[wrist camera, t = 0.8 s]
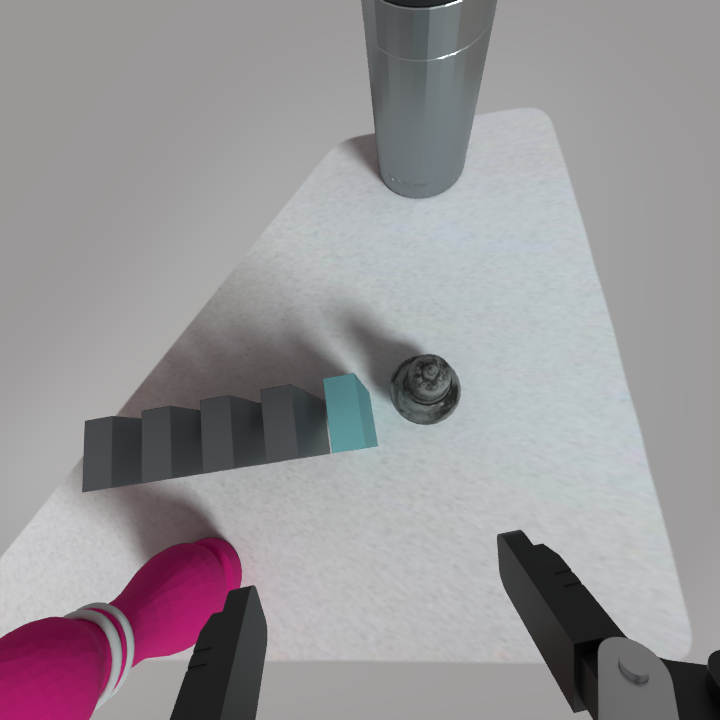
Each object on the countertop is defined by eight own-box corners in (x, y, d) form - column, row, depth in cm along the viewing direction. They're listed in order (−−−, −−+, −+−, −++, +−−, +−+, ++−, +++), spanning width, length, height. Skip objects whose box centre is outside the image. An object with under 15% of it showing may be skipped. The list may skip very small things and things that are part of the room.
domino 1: (192, 423, 36) (112, 416, 26) (194, 475, 34) (111, 487, 25) (172, 426, 36) (84, 420, 26) (173, 478, 35) (82, 492, 25)
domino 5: (369, 392, 34) (354, 373, 24) (377, 446, 33) (365, 447, 23) (346, 396, 34) (322, 378, 25) (354, 449, 33) (332, 452, 23)
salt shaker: (383, 374, 34) (371, 340, 23) (442, 356, 34) (460, 311, 22) (402, 434, 33) (400, 430, 21) (464, 415, 32) (496, 400, 21)
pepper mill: (183, 632, 31) (-178, 937, 12) (164, 548, 33) (-174, 695, 14) (258, 603, 31) (12, 865, 12) (235, 519, 33) (-10, 628, 14)
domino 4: (323, 400, 34) (290, 384, 25) (330, 453, 33) (298, 458, 24) (301, 404, 35) (260, 389, 25) (307, 457, 33) (266, 463, 24)
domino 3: (278, 408, 35) (229, 395, 25) (283, 461, 34) (234, 468, 24) (257, 412, 35) (200, 400, 25) (261, 464, 34) (203, 473, 24)
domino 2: (235, 416, 35) (169, 405, 26) (238, 468, 34) (171, 478, 24) (214, 419, 35) (141, 411, 26) (216, 471, 34) (141, 483, 25)
